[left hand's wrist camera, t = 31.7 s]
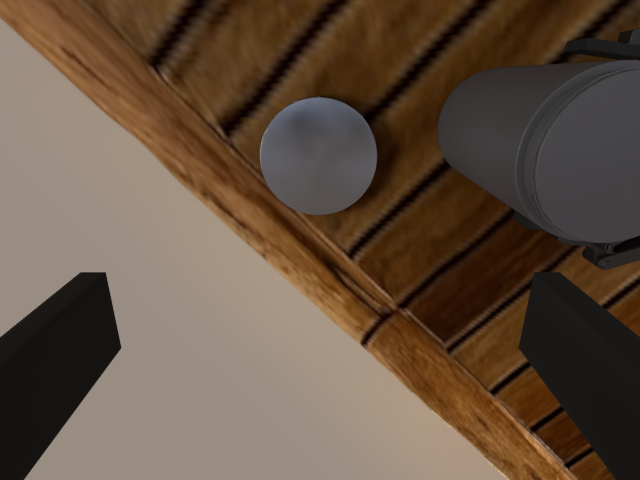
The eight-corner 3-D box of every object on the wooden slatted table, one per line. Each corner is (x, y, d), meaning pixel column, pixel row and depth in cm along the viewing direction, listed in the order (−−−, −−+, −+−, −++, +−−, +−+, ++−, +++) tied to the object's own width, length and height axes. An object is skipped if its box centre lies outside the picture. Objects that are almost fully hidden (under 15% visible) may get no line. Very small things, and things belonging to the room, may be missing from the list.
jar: (476, 46, 36) (613, 18, 19) (568, 100, 38) (769, 117, 21) (417, 150, 40) (490, 204, 23) (504, 195, 41) (633, 277, 24)
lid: (302, 71, 37) (301, 71, 36) (397, 140, 39) (401, 143, 38) (241, 170, 40) (238, 174, 39) (332, 229, 43) (333, 235, 41)
